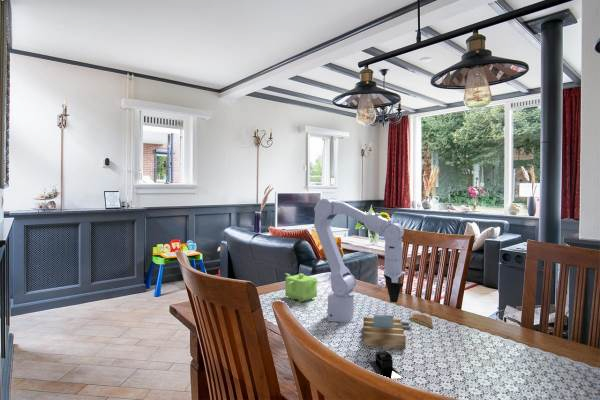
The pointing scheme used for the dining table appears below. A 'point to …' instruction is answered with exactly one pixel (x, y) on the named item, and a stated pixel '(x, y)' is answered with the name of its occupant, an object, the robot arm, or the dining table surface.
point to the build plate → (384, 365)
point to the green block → (301, 287)
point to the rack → (383, 334)
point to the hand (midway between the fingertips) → (392, 298)
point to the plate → (383, 321)
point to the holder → (405, 325)
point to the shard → (422, 319)
